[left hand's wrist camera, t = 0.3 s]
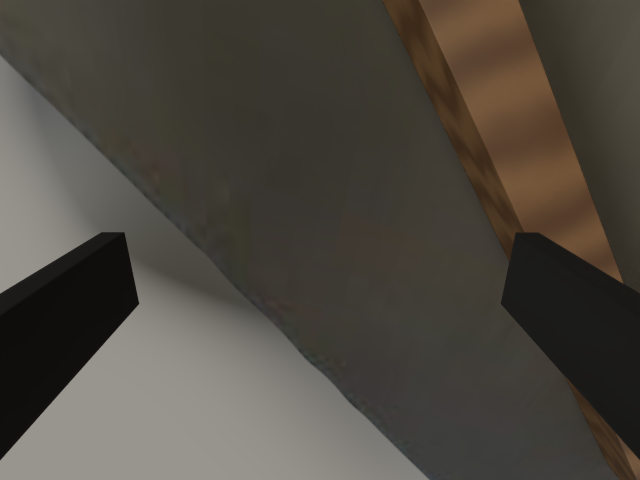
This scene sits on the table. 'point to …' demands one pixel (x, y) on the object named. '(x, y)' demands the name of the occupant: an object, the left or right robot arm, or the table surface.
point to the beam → (509, 140)
